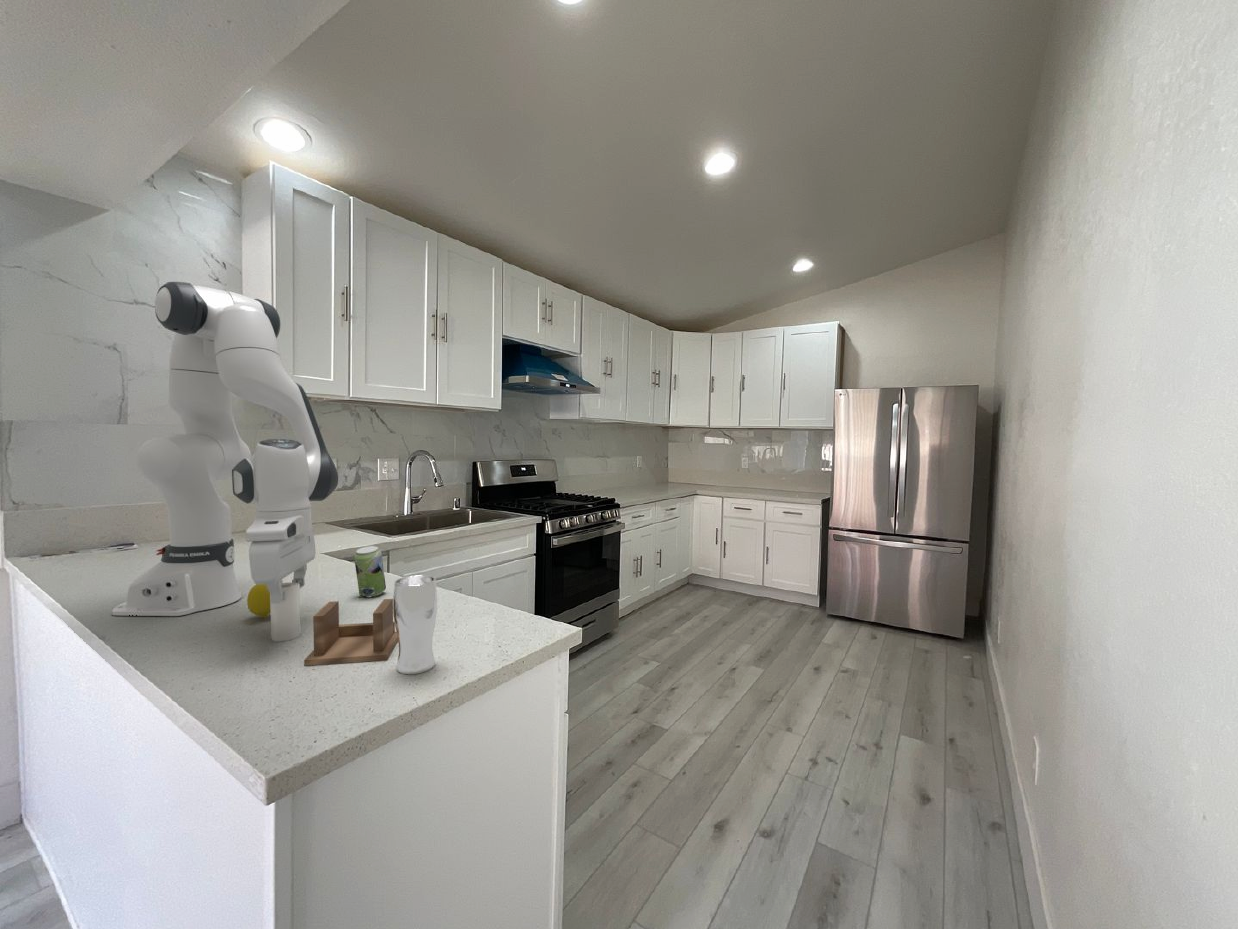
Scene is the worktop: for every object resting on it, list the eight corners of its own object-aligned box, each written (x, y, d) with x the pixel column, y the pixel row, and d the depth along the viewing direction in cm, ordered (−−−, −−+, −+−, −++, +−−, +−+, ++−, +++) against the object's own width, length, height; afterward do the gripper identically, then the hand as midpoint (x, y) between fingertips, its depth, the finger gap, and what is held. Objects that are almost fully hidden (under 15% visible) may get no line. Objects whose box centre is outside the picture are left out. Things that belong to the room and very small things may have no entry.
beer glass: (402, 658, 91) (401, 574, 91) (442, 657, 92) (441, 574, 91) (387, 676, 84) (386, 586, 84) (430, 675, 85) (430, 585, 84)
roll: (266, 642, 98) (265, 589, 97) (277, 632, 102) (276, 581, 102) (294, 640, 98) (293, 587, 98) (304, 631, 103) (303, 580, 103)
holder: (304, 665, 88) (303, 619, 87) (327, 640, 99) (326, 599, 98) (387, 660, 91) (386, 615, 90) (400, 636, 101) (400, 596, 101)
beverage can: (390, 591, 130) (390, 544, 129) (374, 600, 123) (373, 550, 122) (367, 590, 131) (366, 543, 130) (349, 599, 123) (348, 549, 123)
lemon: (246, 617, 111) (245, 580, 110) (277, 611, 114) (276, 576, 114) (248, 624, 106) (248, 586, 106) (280, 618, 110) (280, 581, 110)
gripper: (289, 516, 109) (292, 581, 109) (240, 534, 89) (244, 613, 89) (322, 515, 110) (325, 579, 111) (281, 532, 90) (285, 610, 91)
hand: (288, 594), depth 100 cm, fingers open, 8 cm apart
